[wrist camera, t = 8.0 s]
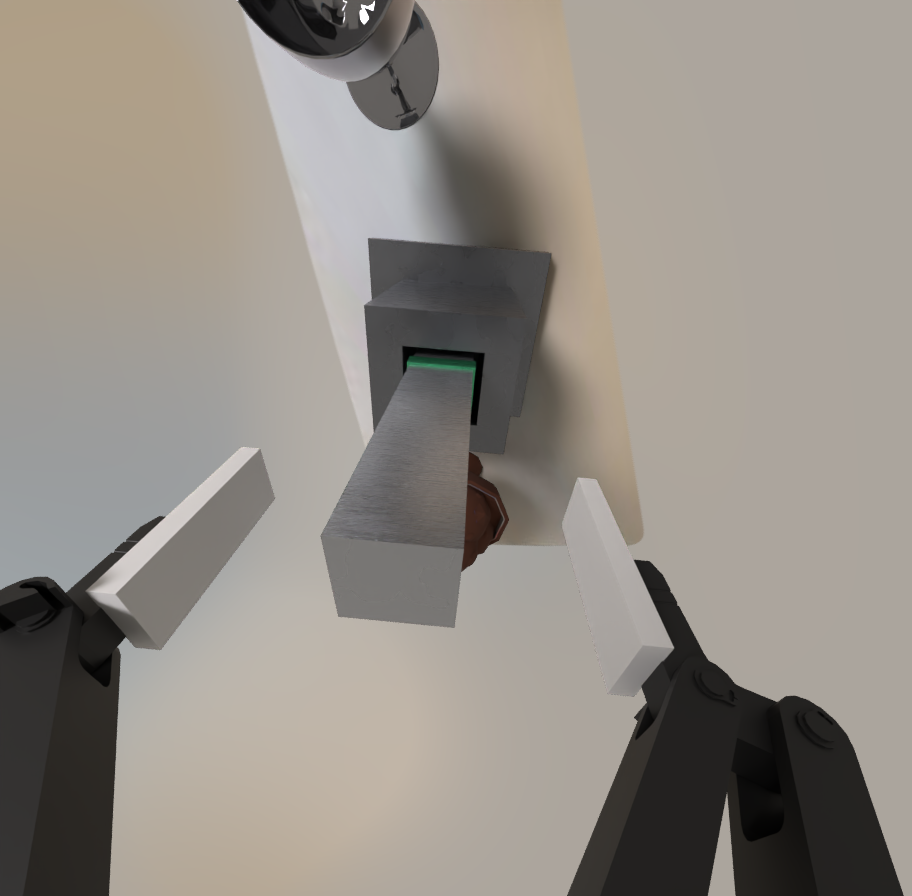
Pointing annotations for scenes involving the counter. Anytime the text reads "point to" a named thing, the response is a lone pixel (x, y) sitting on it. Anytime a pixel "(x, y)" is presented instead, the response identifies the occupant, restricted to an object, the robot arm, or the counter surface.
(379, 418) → the stand housing
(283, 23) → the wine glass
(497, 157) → the counter surface
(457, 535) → the post
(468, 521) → the ice cream bowl
